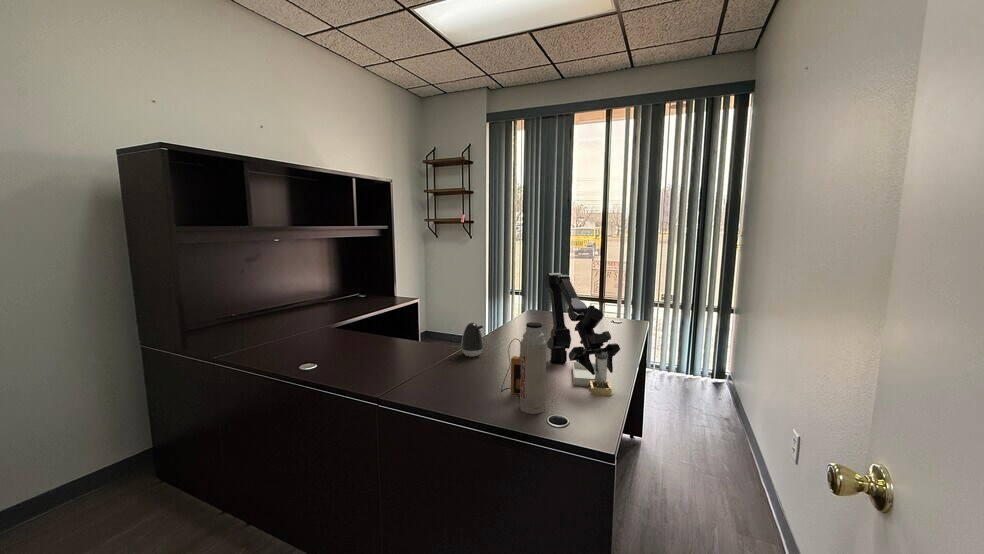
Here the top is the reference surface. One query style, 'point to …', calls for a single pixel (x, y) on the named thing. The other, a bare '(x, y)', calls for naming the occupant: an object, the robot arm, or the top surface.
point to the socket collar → (600, 389)
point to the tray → (582, 374)
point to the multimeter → (515, 373)
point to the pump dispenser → (472, 340)
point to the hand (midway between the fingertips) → (603, 373)
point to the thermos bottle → (533, 369)
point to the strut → (600, 369)
